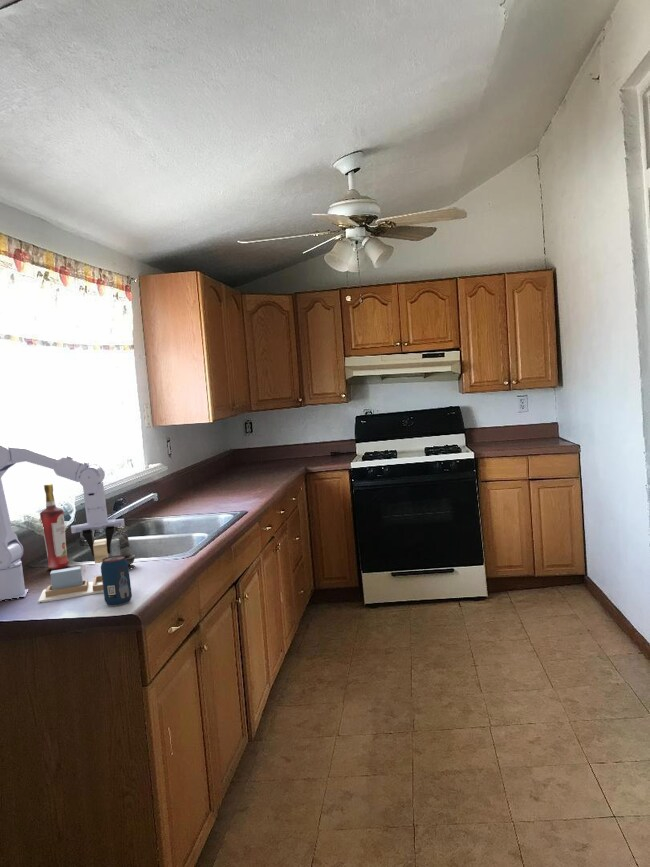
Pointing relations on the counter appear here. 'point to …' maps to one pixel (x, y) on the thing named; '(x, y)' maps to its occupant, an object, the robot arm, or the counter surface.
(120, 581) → the soda can
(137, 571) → the counter surface
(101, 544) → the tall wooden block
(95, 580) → the jig
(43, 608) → the counter surface
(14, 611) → the counter surface
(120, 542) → the salt shaker
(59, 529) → the liquor
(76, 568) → the light blue block
